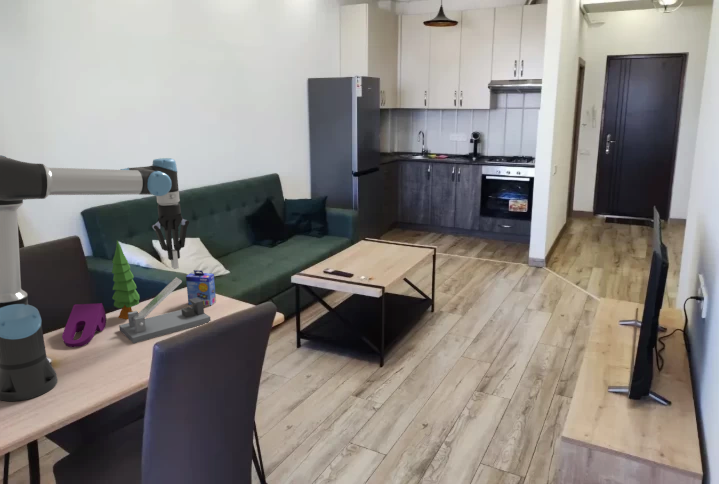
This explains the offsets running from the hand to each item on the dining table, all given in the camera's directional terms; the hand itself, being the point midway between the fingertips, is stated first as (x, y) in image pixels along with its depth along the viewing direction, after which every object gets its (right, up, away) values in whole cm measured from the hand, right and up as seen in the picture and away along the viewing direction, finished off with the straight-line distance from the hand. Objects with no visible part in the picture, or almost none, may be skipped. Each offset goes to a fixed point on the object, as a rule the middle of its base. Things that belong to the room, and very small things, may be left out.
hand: (175, 267), depth 195 cm
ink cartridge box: (+3, -16, +24) cm, 29 cm away
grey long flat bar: (-5, -12, -2) cm, 13 cm away
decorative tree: (-21, -19, +11) cm, 30 cm away
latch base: (-4, -21, +2) cm, 22 cm away
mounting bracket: (-29, -24, -6) cm, 38 cm away
